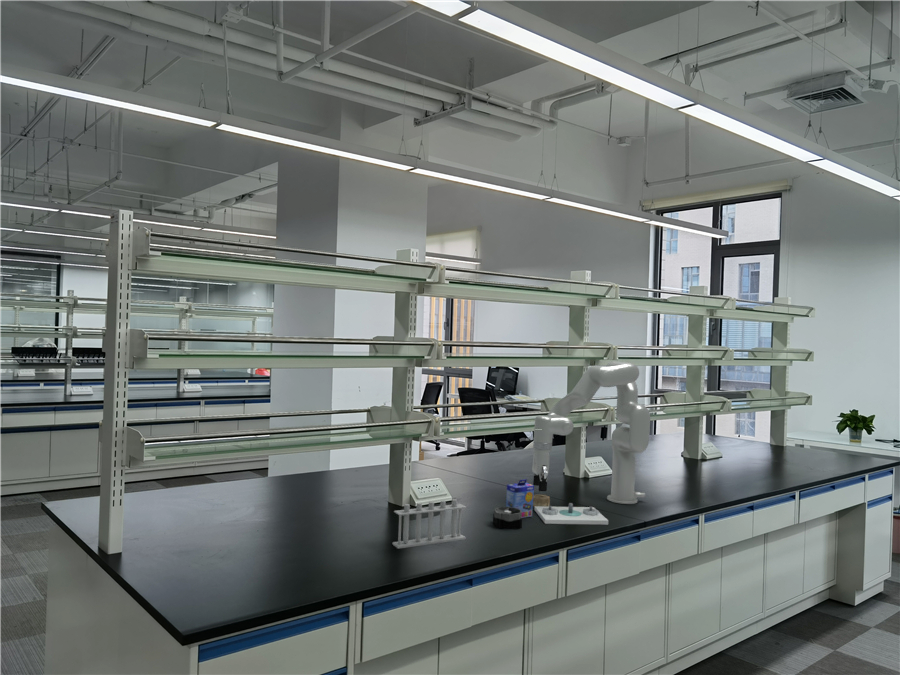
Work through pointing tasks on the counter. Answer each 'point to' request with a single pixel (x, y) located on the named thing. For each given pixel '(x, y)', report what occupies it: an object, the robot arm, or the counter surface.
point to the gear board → (570, 515)
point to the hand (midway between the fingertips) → (539, 488)
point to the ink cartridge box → (521, 497)
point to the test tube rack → (429, 524)
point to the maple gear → (541, 500)
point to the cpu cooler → (507, 517)
